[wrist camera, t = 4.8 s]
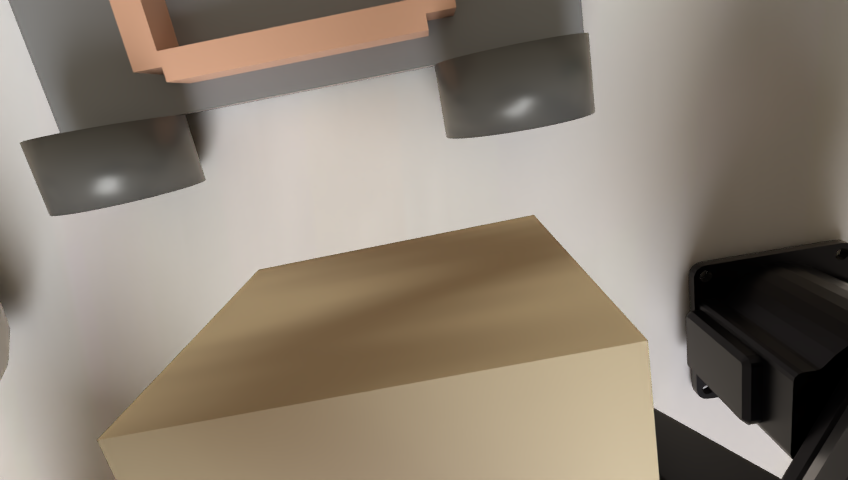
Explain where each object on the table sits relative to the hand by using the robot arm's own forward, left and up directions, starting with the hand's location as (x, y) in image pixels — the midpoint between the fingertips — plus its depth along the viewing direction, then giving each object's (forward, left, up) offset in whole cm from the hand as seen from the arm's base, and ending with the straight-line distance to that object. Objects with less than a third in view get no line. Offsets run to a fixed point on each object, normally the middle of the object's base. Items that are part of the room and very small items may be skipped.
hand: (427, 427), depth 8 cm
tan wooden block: (0, 0, -1) cm, 1 cm away
